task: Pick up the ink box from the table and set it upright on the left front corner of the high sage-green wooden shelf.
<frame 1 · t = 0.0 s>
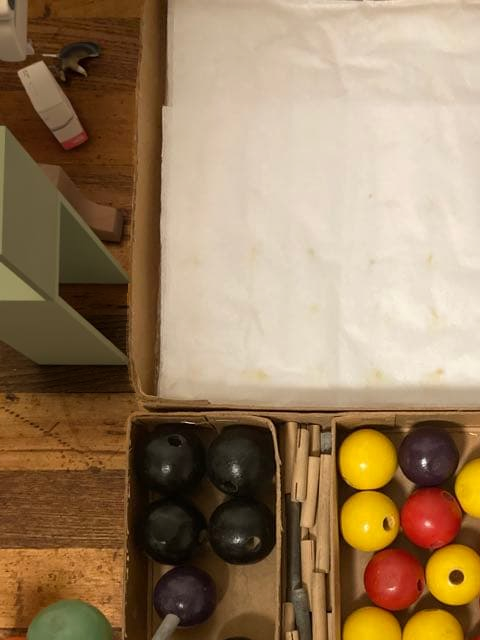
hand: (30, 21, 130), 23 cm above the table, tool pointing down, fingers open, 8 cm apart
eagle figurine: (80, 67, 153), on the table
ink box: (67, 126, 152), on the table
shelf: (84, 320, 150), on the table
wooden block: (98, 228, 151), on the table
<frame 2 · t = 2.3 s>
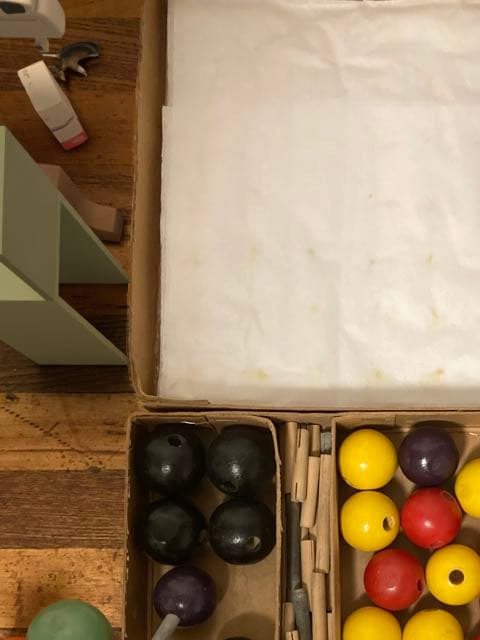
hand: (13, 47, 131), 22 cm above the table, tool pointing down, fingers open, 8 cm apart
nothing on the table moved.
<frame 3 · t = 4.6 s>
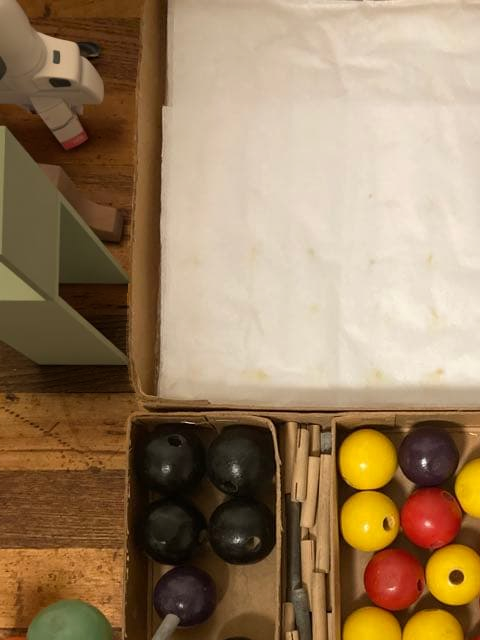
hand: (57, 110, 148), 5 cm above the table, tool pointing down, fingers closed on ink box, 6 cm apart
ink box: (67, 126, 152), on the table, touching gripper
everything else where it was.
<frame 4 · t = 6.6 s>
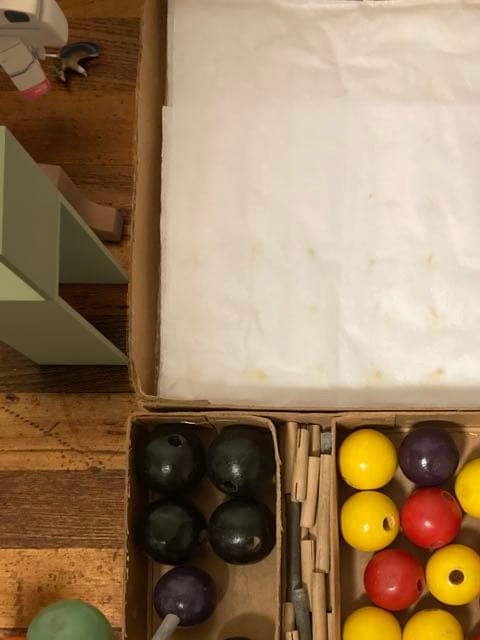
hand: (16, 55, 132), 20 cm above the table, tool pointing down, fingers closed on ink box, 6 cm apart
ink box: (29, 74, 137), point 15 cm above the table, touching gripper
everything else where it was.
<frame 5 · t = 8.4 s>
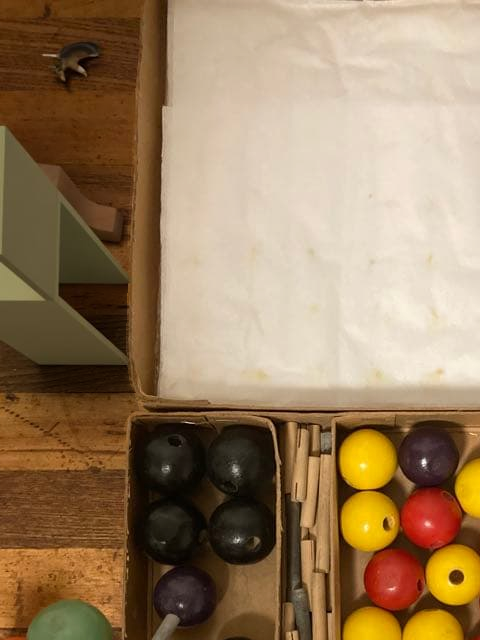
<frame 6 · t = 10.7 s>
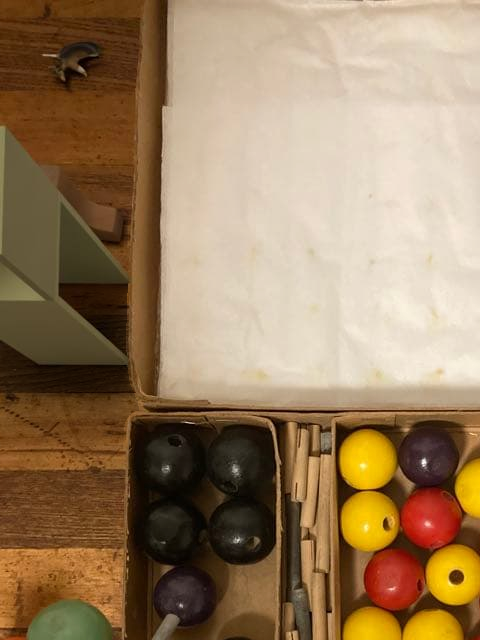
when the fingers open (38 cm above the table, at t = 12.6 s): ink box stays where it is, resting on shelf.
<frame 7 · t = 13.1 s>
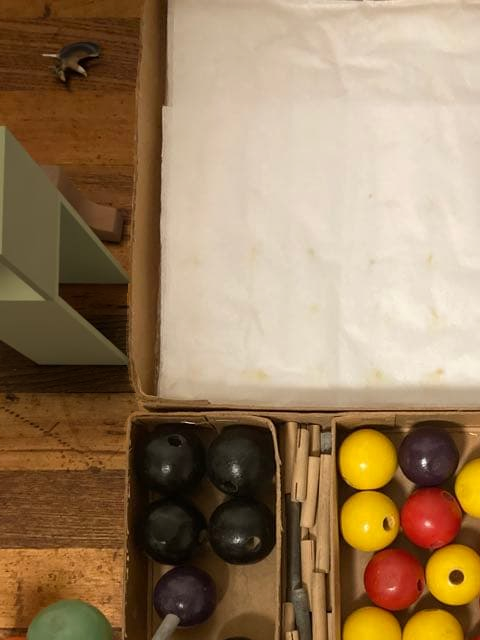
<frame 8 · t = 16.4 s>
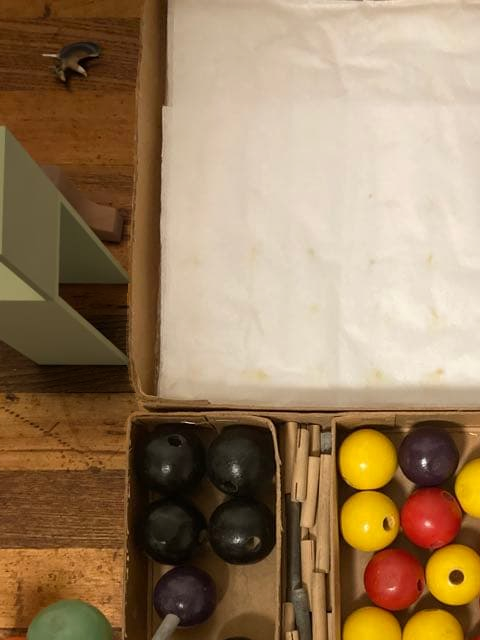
at the end: ink box inside the target area on the shelf (1.5 cm from its centre), point 32.8 cm above the shelf's base; ink box tilted 0°; the gripper is holding nothing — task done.
